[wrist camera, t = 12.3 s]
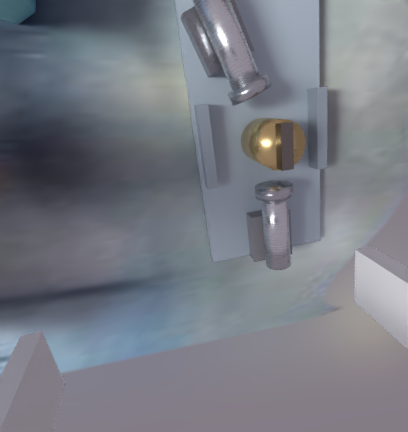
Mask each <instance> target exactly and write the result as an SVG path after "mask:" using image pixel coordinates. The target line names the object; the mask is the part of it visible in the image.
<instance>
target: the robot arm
mask: <svg viewBox="0 0 408 432" xmlns="http://www.w3.org/2000/svg"><path fill="white" fill-rule="evenodd" d="M354 290H355V291H354V302H355V303H356V304H357V305H359V306H360V307H361V308H362V309H363V310H364V311H366V313H368V314H369V315H370V316H371V317H372V318H373V319H374V320H375V321H377V322H378V323H379V324H380V325H381V326H382V327H383V328H385V329H386V330H387V331H388V332H389V333H390V334H391V335H392V336H394V337H395V338H396V339H397V340H398V341H399V342H400V343H401V344H403V345H404V346H405V347H406V348H407V349H408V267H407V266H405V265H404V264H402V263H400V262H398V261H397V260H395V259H393V258H392V257H390V256H388V255H386V254H385V253H383V252H381V251H379V250H378V249H376V248H374V247H373V246H367V247H363V248H359V249H356V250H355V289H354ZM64 387H65V383H64V380H63V378H62V376H61V374H60V371H59V369H58V367H57V364H56V362H55V360H54V358H53V355H52V353H51V351H50V349H49V346H48V344H47V342H46V339H45V337H44V335H43V333H42V331H41V332H37V333H33V334H29V335H25V336H22V337H20V339H19V341H18V343H17V345H16V347H15V349H14V351H13V353H12V355H11V357H10V359H9V361H8V363H7V365H6V367H5V369H4V370H3V372H2V374H1V376H0V432H53V430H54V426H55V422H56V418H57V415H58V411H59V407H60V402H61V399H62V395H63V391H64Z"/></svg>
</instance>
